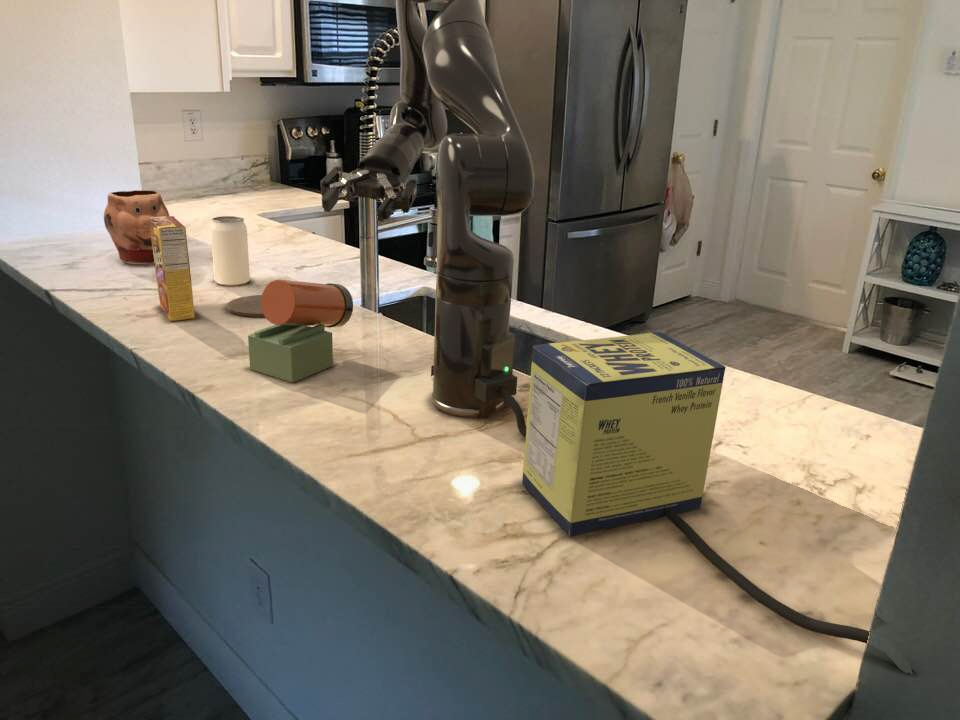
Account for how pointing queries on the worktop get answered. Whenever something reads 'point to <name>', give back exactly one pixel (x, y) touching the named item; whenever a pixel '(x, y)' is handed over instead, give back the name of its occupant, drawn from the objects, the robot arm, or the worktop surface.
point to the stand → (290, 351)
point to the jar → (306, 303)
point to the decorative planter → (133, 223)
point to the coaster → (246, 306)
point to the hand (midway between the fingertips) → (352, 211)
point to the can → (230, 251)
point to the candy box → (172, 267)
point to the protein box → (619, 429)
